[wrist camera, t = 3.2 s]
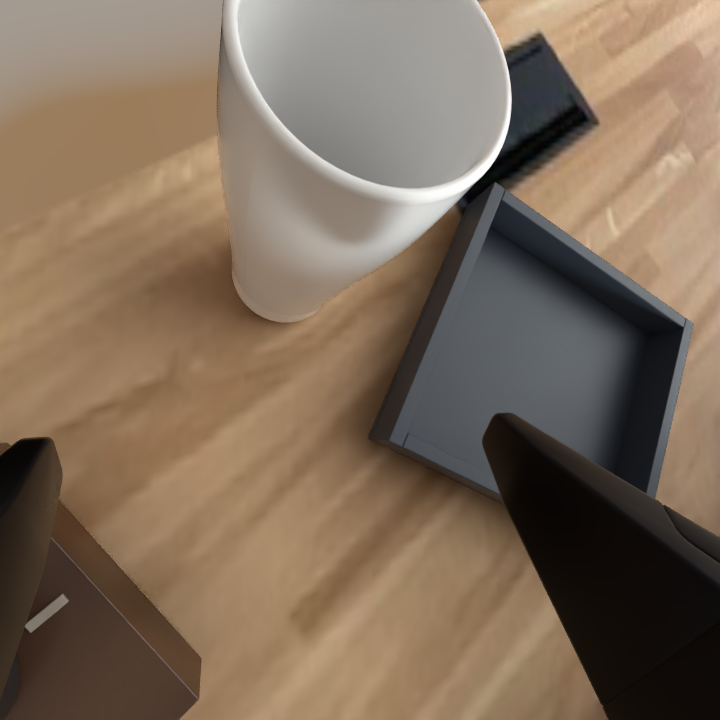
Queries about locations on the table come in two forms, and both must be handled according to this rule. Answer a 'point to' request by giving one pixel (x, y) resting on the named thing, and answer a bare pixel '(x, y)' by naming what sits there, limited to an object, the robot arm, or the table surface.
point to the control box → (98, 641)
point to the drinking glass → (348, 136)
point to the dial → (10, 690)
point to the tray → (534, 353)
